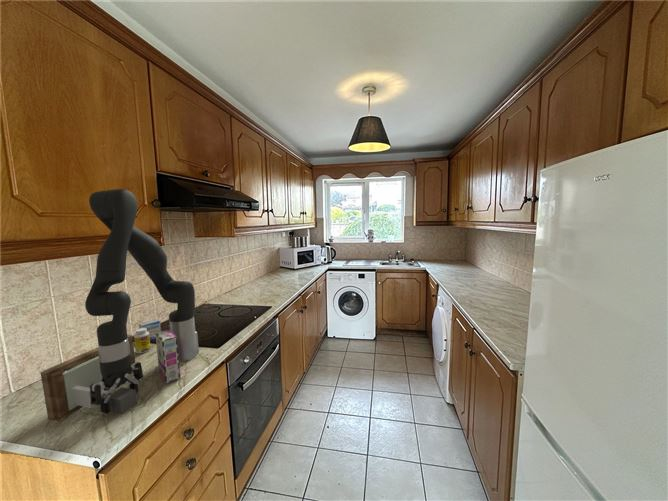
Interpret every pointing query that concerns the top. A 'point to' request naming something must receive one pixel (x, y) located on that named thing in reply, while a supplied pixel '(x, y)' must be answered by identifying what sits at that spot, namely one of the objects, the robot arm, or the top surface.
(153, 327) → the medicine box
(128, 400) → the block
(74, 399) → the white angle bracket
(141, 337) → the supplement bottle
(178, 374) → the candy bar box
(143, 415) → the top surface
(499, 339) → the top surface
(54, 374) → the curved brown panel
